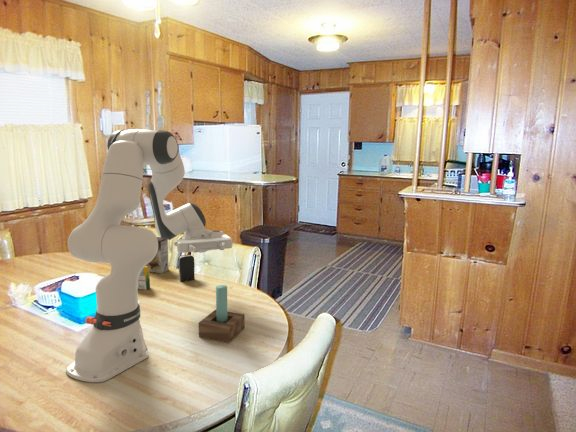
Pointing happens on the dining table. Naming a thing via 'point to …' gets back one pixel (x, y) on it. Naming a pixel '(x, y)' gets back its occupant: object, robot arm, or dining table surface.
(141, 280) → the crayon box
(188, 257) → the battery charger
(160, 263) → the coffee box
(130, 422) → the dining table surface
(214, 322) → the socket block
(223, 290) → the peg
